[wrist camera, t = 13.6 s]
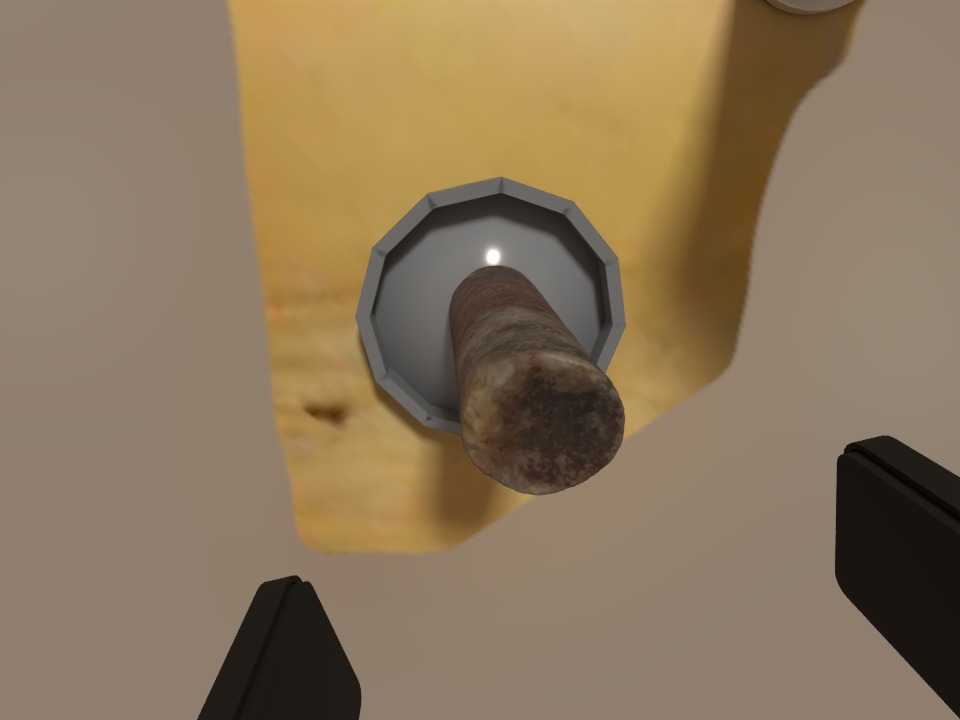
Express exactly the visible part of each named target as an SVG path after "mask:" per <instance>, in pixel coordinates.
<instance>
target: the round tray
mask: <svg viewBox="0 0 960 720" xmlns="http://www.w3.org/2000/svg"><path fill="white" fill-rule="evenodd" d="M496 265H502V266H507V267H511V268H513V269H515V270H518V271H520V272H521V273H522V274H524V275H525V276H526V277H527V278H528V279H529V280H530V281H531V282H532V283H533V284H534V286H535V287H536V288H537V289H538V290H539V292H540V293H541V294H542V295H543V297H544V298H545V299H546V301H547V302H548V303H549V305H550V306H551V307H552V309H553V310H554V311H555V312H556V314H557V315H558V316H559V318H560V319H561V320H562V322H563V323H564V324H565V326H566V327H567V328H568V329H569V330H570V331H571V332H572V334H573V335H574V336H575V337H576V339H577V340H578V342H579V343H580V344H581V345H582V346H583V348H584V349H585V350H586V351H587V353H588V354H589V355H590V357H591V358H592V359H593V360H594V362H595V363H596V364H597V365H598V367H599V368H600V369H601V370H602V371H603V372H604V374H605V373H606V371H607V368H608V366H609V364H610V361H611V359H612V357H613V354H614V352H615V350H616V347H617V345H618V343H619V340H620V338H621V336H622V333H623V331H624V329H625V326H626V322H625V314H624V305H623V296H622V288H621V279H620V270H619V262H618V257H617V256H616V255H615V253H614V252H613V251H612V249H611V248H610V247H609V246H608V244H607V243H606V242H605V241H604V239H603V238H602V237H601V236H600V234H599V233H598V232H597V231H596V229H595V228H594V227H593V226H592V224H591V223H590V222H589V220H588V219H587V218H586V217H585V215H584V214H583V213H582V212H581V210H580V209H579V208H578V207H577V205H576V204H575V203H574V202H573V201H570V200H568V199H565V198H562V197H559V196H556V195H553V194H550V193H547V192H544V191H541V190H539V189H536V188H533V187H530V186H527V185H524V184H521V183H518V182H515V181H513V180H510V179H507V178H504V177H496V178H491V179H487V180H483V181H478V182H474V183H470V184H465V185H461V186H456V187H452V188H448V189H443V190H439V191H435V192H430V193H427V194H426V195H425V196H424V197H423V198H422V199H421V200H420V201H419V202H418V203H417V204H416V205H415V206H414V207H413V208H412V209H411V210H410V211H409V212H408V213H407V214H406V215H405V216H404V217H403V218H402V219H401V220H400V221H399V222H398V223H397V224H396V225H395V226H394V227H393V228H392V229H391V230H390V231H389V232H388V233H387V234H386V235H385V236H384V237H383V238H382V239H381V240H380V241H379V242H378V243H377V244H376V245H374V246H373V248H372V252H371V256H370V260H369V264H368V268H367V272H366V276H365V280H364V284H363V288H362V292H361V296H360V301H359V305H358V309H357V313H356V317H355V318H356V321H357V324H358V327H359V330H360V333H361V337H362V340H363V343H364V346H365V349H366V353H367V356H368V359H369V362H370V365H371V368H372V372H373V375H374V378H375V381H376V382H377V383H378V384H379V385H380V386H381V387H382V388H383V389H384V390H385V391H386V392H387V393H389V394H390V395H391V396H392V397H393V398H394V399H395V400H396V401H397V402H398V403H400V404H401V405H402V406H403V407H404V408H405V409H406V410H407V411H408V412H409V413H410V414H412V415H413V416H414V417H415V418H416V419H417V420H418V421H419V422H420V423H421V424H423V425H424V426H427V427H431V428H435V429H439V430H443V431H447V432H451V433H455V434H458V435H462V428H461V422H460V414H459V407H458V395H457V385H456V376H455V362H454V353H453V346H452V338H451V331H450V321H449V307H450V302H451V299H452V295H453V293H454V291H455V290H456V288H457V287H458V286H459V285H460V283H461V282H462V281H463V280H464V279H465V278H466V277H467V276H469V275H470V274H471V273H472V272H473V271H475V270H477V269H479V268H482V267H485V266H496Z"/></svg>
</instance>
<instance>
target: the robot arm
mask: <svg viewBox="0 0 960 720" xmlns="http://www.w3.org/2000/svg"><path fill="white" fill-rule="evenodd" d="M766 1H767V2H769V3H770V4H771V5H773V6H774V7H776V8H779V9H781V10H784V11H787V12H789V13H795V14H804V15H810V14H818V13H825V12H828V11H831V10H834V9H836V8H839V7H842V6H844V5H846V4H848V3H850V2H852V1H854V0H766ZM836 489H837V492H836V546H835V547H836V548H835V575H836V579H837V582H838V584H839V586H840V588H841V590H842V591H843V593H844V594H845V595H846V597H847V598H848V599H849V600H850V601H851V602H852V603H853V604H854V605H855V606H856V607H857V608H858V610H859V611H860V612H861V613H862V614H863V615H864V616H865V617H866V618H867V619H868V620H869V621H870V623H871V624H872V625H873V626H874V627H875V628H876V629H877V630H878V631H879V632H880V633H881V634H882V635H883V637H885V639H886V640H887V641H888V642H889V643H890V644H891V645H892V646H893V647H894V648H895V649H896V651H898V653H899V654H900V655H901V656H902V657H903V658H904V659H905V660H906V661H907V662H908V663H909V665H910V666H911V667H912V668H913V669H914V670H915V671H916V672H917V673H918V674H919V675H920V676H921V677H922V678H923V680H924V681H925V682H926V683H927V684H928V685H929V686H930V687H931V688H932V689H933V690H934V691H935V692H936V693H937V695H938V696H939V697H940V698H941V699H942V700H943V701H944V702H945V703H946V704H947V705H948V706H949V708H950V709H951V710H952V711H953V712H954V713H955V714H956V715H957V716H958V717H959V718H960V477H958V476H957V475H955V474H953V473H952V472H950V471H948V470H947V469H945V468H943V467H942V466H940V465H938V464H937V463H935V462H933V461H932V460H930V459H928V458H927V457H925V456H923V455H922V454H920V453H918V452H916V451H915V450H913V449H912V448H910V447H908V446H906V445H905V444H903V443H902V442H900V441H898V440H897V439H895V438H893V437H890V436H879V437H875V438H870V439H866V440H862V441H858V442H853V443H850V444H848V445H847V446H846V448H845V449H844V454H842V455H840V456H839V457H838V460H837V488H836ZM360 708H361V688H360V684H359V681H358V679H357V677H356V675H355V673H354V671H353V669H352V667H351V665H350V662H349V660H348V658H347V656H346V654H345V652H344V650H343V648H342V646H341V644H340V642H339V640H338V638H337V635H336V633H335V631H334V629H333V627H332V625H331V623H330V621H329V619H328V617H327V615H326V613H325V611H324V609H323V606H322V605H321V602H320V600H319V598H318V596H317V594H316V592H315V590H314V588H313V586H312V585H311V583H310V582H308V581H305V582H302V581H301V579H300V578H299V577H298V576H297V575H296V576H289V577H285V578H281V579H276V580H272V581H268V582H264V583H263V584H261V585H260V587H259V588H258V590H257V592H256V594H255V596H254V598H253V601H252V603H251V605H250V607H249V609H248V612H247V613H246V616H245V618H244V620H243V622H242V624H241V626H240V629H239V631H238V633H237V635H236V637H235V639H234V641H233V644H232V646H231V648H230V650H229V652H228V654H227V656H226V659H225V661H224V663H223V665H222V667H221V669H220V672H219V674H218V676H217V678H216V680H215V682H214V685H213V687H212V689H211V691H210V693H209V695H208V697H207V699H206V702H205V704H204V706H203V708H202V710H201V713H200V715H199V717H198V719H197V720H359V714H360Z"/></svg>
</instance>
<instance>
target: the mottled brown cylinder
mask: <svg viewBox="0 0 960 720" xmlns="http://www.w3.org/2000/svg"><path fill="white" fill-rule="evenodd" d="M449 321H450V331H451V338H452V346H453V353H454V362H455V376H456V385H457V395H458V407H459V414H460V422H461V428H462V439H463V445H464V447H465V449H466V451H467V453H468V455H469V457H470V458H471V460H472V462H473V463H474V465H476V466H477V467H478V468H479V469H480V470H481V471H482V472H483V473H484V474H486V475H488V476H490V477H491V478H493V479H495V480H497V481H498V482H500V483H501V484H503V485H504V486H506V487H509V488H511V489H514V490H515V491H517V492H520V493H523V494H532V495H545V494H551V493H556V492H559V491H562V490H564V489H567V488H569V487H574V486H576V485H578V484H580V483H582V482H584V481H586V480H587V479H588V478H590V477H591V476H593V475H595V474H596V473H597V472H599V471H600V470H601V469H602V468H603V467H605V466H606V465H607V464H608V463H609V462H610V461H611V460H612V459H613V458H614V456H615V455H616V453H617V451H618V449H619V448H620V446H621V443H622V440H623V433H624V424H625V415H624V407H623V404H622V402H621V399H620V397H619V394H618V392H617V390H616V388H615V387H614V385H613V383H612V382H611V380H610V379H609V378H608V377H607V376H606V375H605V374H604V372H603V371H602V370H601V369H600V368H599V367H598V365H597V364H596V363H595V362H594V360H593V359H592V358H591V357H590V355H589V354H588V353H587V351H586V350H585V349H584V348H583V346H582V345H581V344H580V343H579V342H578V340H577V339H576V337H575V336H574V335H573V334H572V332H571V331H570V330H569V329H568V328H567V327H566V326H565V324H564V323H563V322H562V320H561V319H560V318H559V316H558V315H557V314H556V312H555V311H554V310H553V309H552V307H551V306H550V305H549V303H548V302H547V301H546V299H545V298H544V297H543V295H542V294H541V293H540V292H539V290H538V289H537V288H536V287H535V286H534V284H533V283H532V282H531V281H530V280H529V279H528V278H527V277H526V276H525V275H524V274H522V273H521V272H520V271H518V270H515V269H513V268H511V267H507V266H502V265H496V266H485V267H482V268H479V269H477V270H475V271H473V272H472V273H471V274H470V275H469V276H467V277H466V278H465V279H464V280H463V281H462V282H461V283H460V285H459V286H458V287H457V288H456V290H455V291H454V293H453V295H452V299H451V302H450V307H449Z"/></svg>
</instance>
